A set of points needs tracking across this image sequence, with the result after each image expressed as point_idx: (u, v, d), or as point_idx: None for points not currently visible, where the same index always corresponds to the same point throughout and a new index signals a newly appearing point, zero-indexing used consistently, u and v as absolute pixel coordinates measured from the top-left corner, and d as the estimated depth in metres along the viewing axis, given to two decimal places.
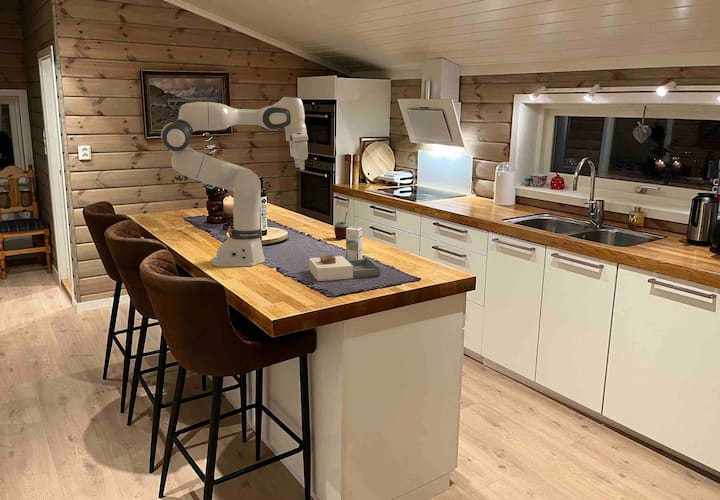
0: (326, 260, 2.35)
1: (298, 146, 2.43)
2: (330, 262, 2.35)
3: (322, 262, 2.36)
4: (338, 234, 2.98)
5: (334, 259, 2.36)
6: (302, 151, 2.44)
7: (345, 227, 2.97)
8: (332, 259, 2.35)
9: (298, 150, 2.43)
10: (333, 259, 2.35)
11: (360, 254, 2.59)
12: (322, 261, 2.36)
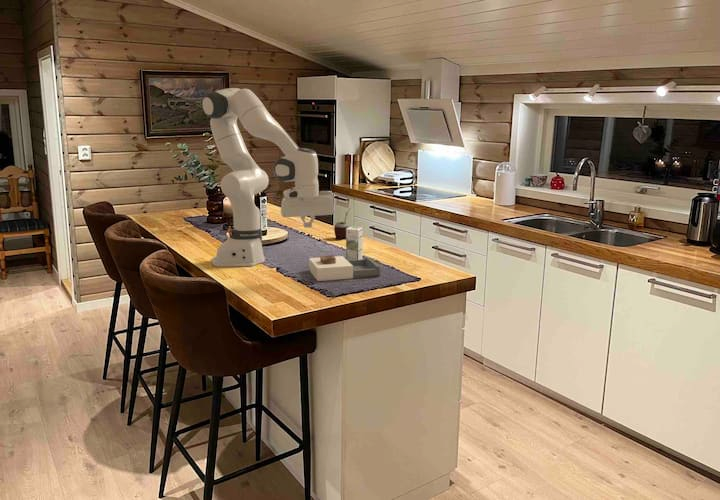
0: (326, 260, 2.35)
1: None
2: (330, 262, 2.35)
3: (322, 262, 2.36)
4: (338, 234, 2.98)
5: (334, 259, 2.36)
6: (281, 207, 2.27)
7: (345, 227, 2.97)
8: (332, 259, 2.35)
9: (281, 205, 2.29)
10: (333, 259, 2.35)
11: (360, 254, 2.59)
12: (322, 261, 2.36)
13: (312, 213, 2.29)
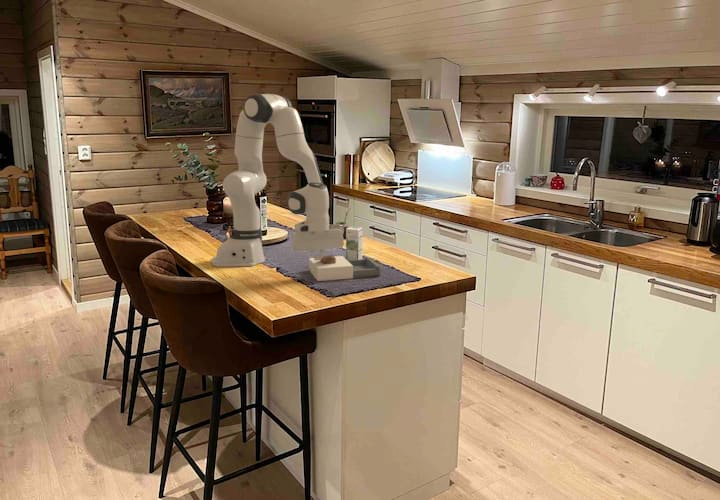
0: (326, 260, 2.35)
1: (293, 235, 2.32)
2: (330, 262, 2.35)
3: (322, 262, 2.36)
4: None
5: (334, 259, 2.36)
6: (292, 241, 2.32)
7: (345, 227, 2.97)
8: (332, 259, 2.35)
9: (292, 238, 2.33)
10: (333, 259, 2.35)
11: (360, 254, 2.59)
12: (322, 261, 2.36)
13: (322, 246, 2.34)
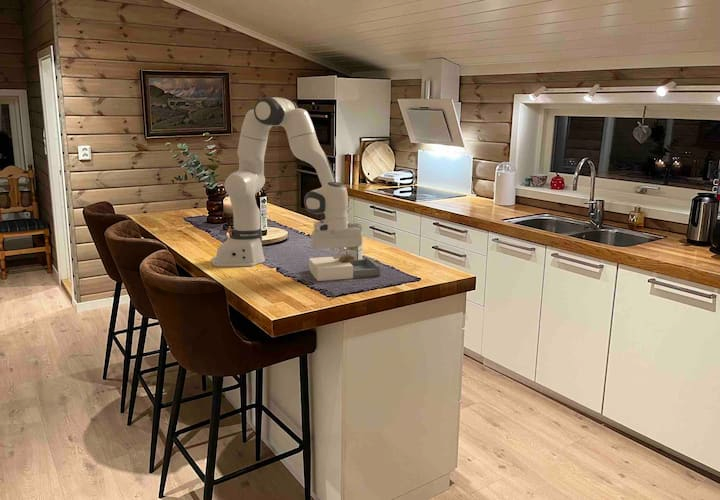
0: (345, 259, 2.37)
1: (312, 233, 2.34)
2: (349, 261, 2.37)
3: (341, 261, 2.38)
4: None
5: (353, 258, 2.38)
6: (312, 240, 2.34)
7: None
8: (351, 258, 2.37)
9: (311, 237, 2.35)
10: (352, 257, 2.37)
11: (360, 254, 2.59)
12: (341, 260, 2.38)
13: (341, 245, 2.36)
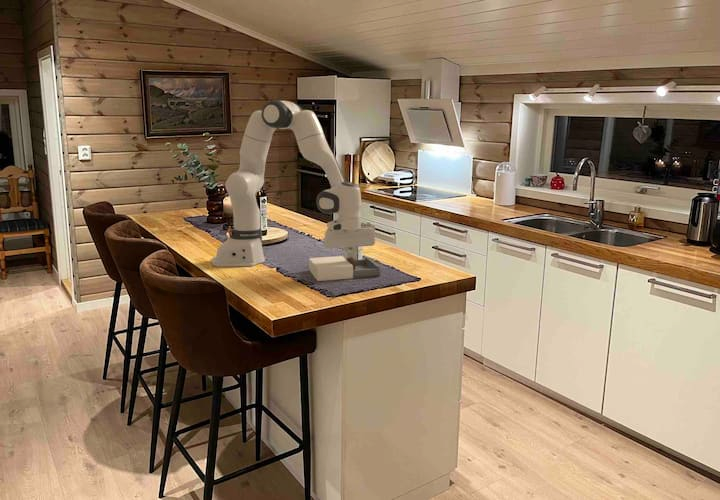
0: (353, 263, 2.38)
1: (325, 233, 2.36)
2: None
3: (350, 259, 2.39)
4: None
5: None
6: (325, 239, 2.35)
7: None
8: (354, 269, 2.39)
9: None
10: None
11: (360, 254, 2.59)
12: (351, 259, 2.39)
13: (354, 244, 2.37)
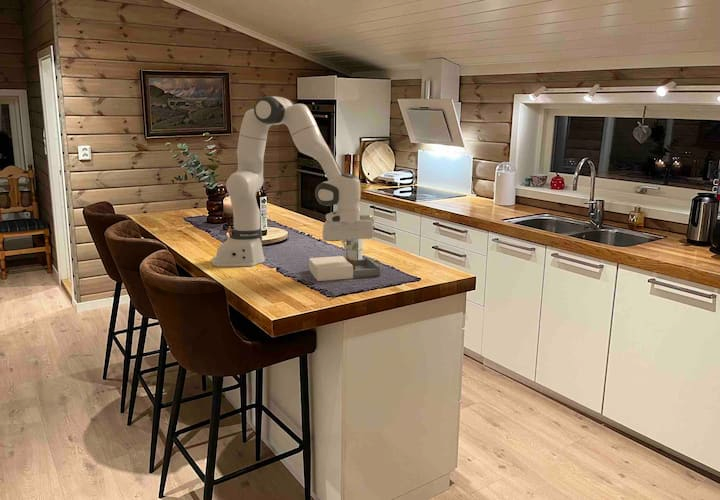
0: (353, 263, 2.38)
1: (324, 224, 2.35)
2: None
3: (350, 259, 2.39)
4: None
5: None
6: (323, 230, 2.34)
7: None
8: (354, 269, 2.39)
9: (323, 228, 2.36)
10: None
11: (360, 254, 2.59)
12: (351, 259, 2.39)
13: (353, 237, 2.36)
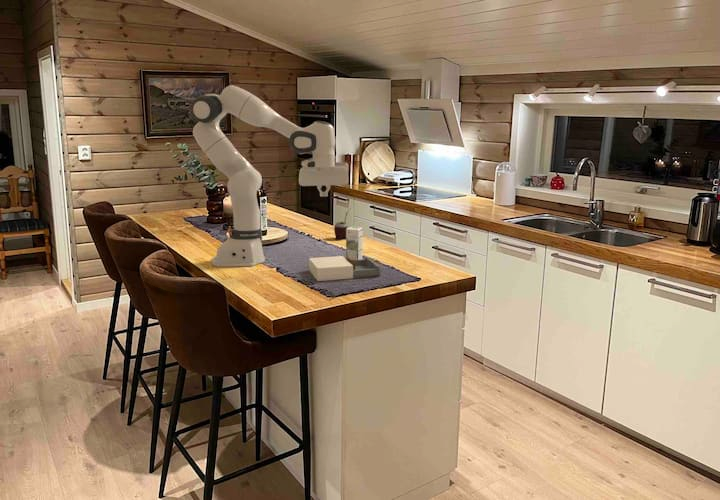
0: (353, 263, 2.38)
1: (300, 171, 2.43)
2: None
3: (350, 259, 2.39)
4: (338, 234, 2.98)
5: None
6: (299, 177, 2.42)
7: (345, 227, 2.97)
8: (354, 269, 2.39)
9: (299, 175, 2.43)
10: None
11: (360, 254, 2.59)
12: (351, 259, 2.39)
13: (328, 183, 2.44)
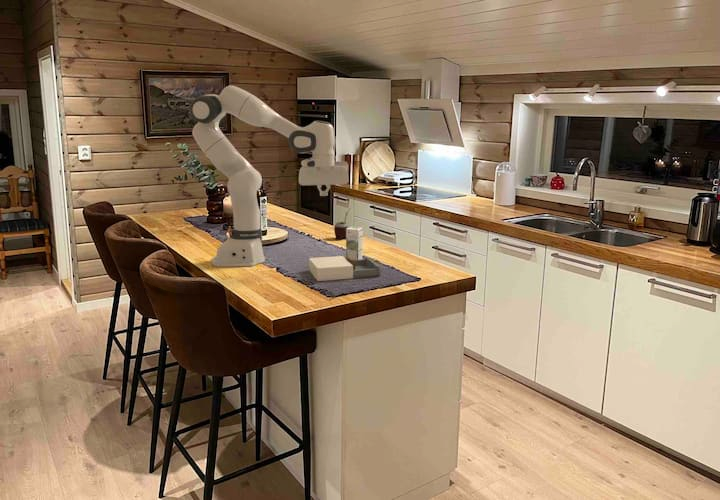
0: (353, 263, 2.38)
1: None
2: None
3: (350, 259, 2.39)
4: (338, 234, 2.98)
5: None
6: (299, 176, 2.42)
7: (345, 227, 2.97)
8: (354, 269, 2.39)
9: (299, 174, 2.43)
10: None
11: (360, 254, 2.59)
12: (351, 259, 2.39)
13: (328, 182, 2.44)
